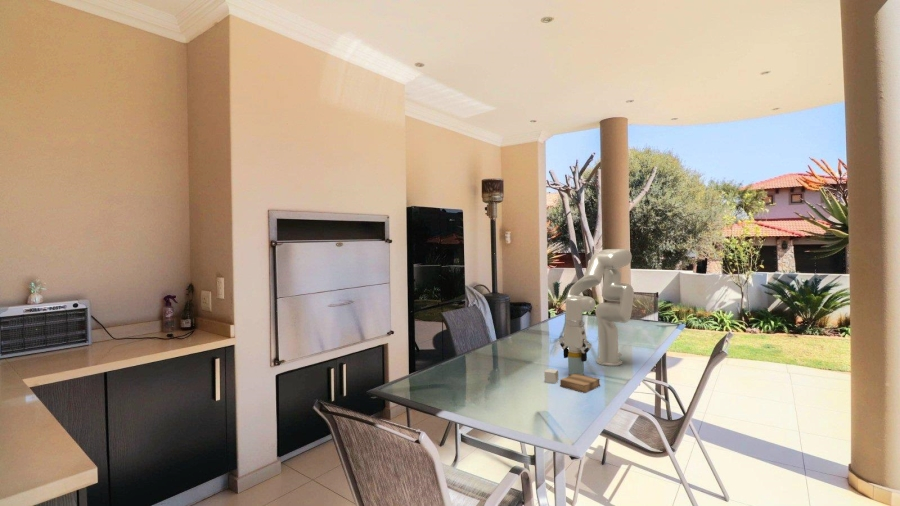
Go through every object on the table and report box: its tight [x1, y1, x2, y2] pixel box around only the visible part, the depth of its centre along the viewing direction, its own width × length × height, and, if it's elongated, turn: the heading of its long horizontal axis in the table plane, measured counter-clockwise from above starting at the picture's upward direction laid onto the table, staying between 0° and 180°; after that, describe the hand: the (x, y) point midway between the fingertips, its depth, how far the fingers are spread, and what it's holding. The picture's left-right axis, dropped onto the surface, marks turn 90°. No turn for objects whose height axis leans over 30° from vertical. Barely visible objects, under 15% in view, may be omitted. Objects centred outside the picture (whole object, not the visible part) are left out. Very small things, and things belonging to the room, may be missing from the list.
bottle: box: [567, 345, 585, 376], centre depth 196 cm, size 7×7×15 cm
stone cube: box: [543, 368, 559, 384], centre depth 191 cm, size 5×5×5 cm
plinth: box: [559, 374, 601, 394], centre depth 183 cm, size 12×12×3 cm
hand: (575, 359), depth 196 cm, fingers open, 9 cm apart
